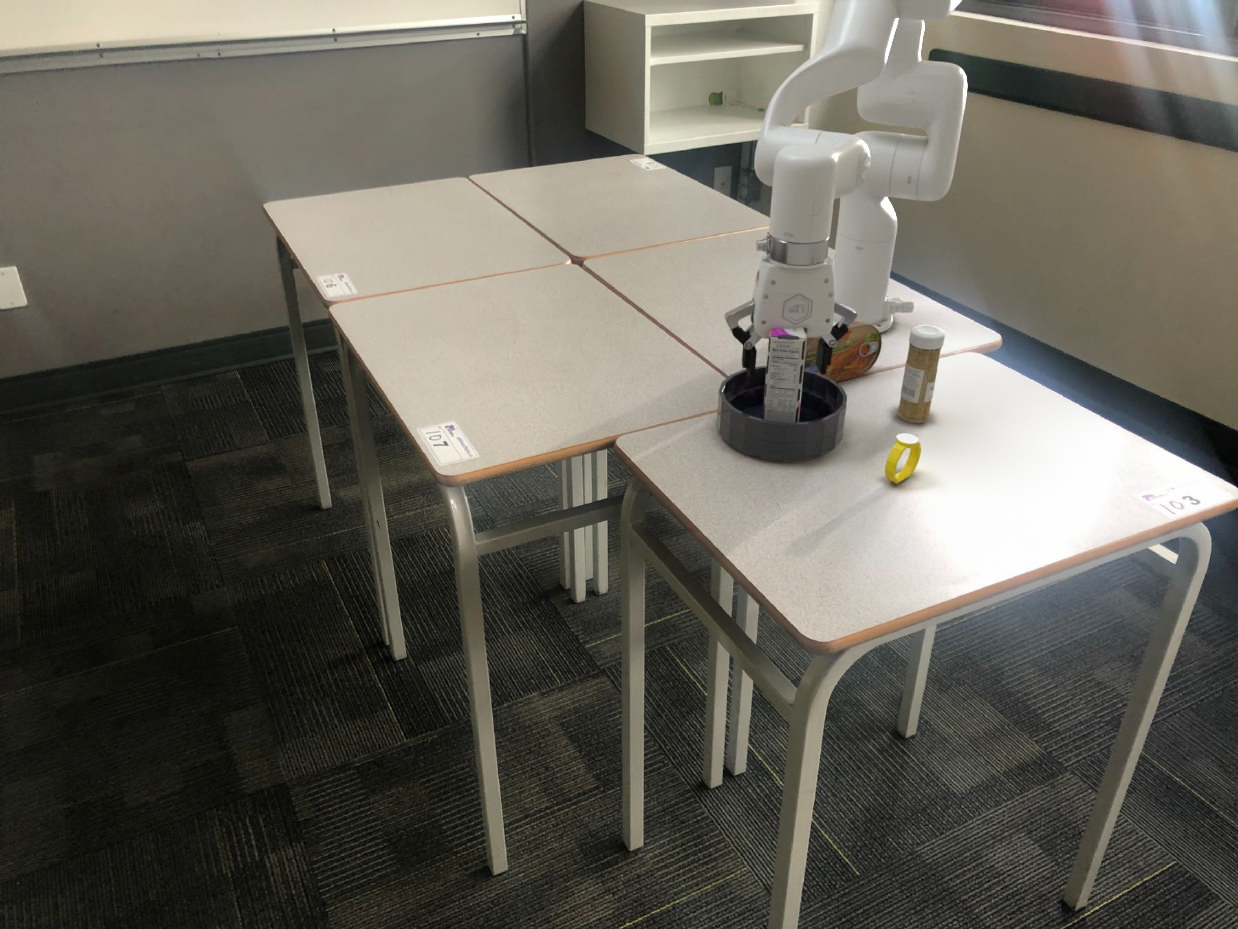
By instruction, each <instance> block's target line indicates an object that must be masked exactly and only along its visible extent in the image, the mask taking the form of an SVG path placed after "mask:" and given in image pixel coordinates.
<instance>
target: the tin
mask: <svg viewBox="0 0 1238 929" xmlns="http://www.w3.org/2000/svg"><path fill="white" fill-rule="evenodd" d="M820 338H821V337H817V338H807V343H806V353H805V363H804V369H805V370H809V371H813V372H817V373H819V374H821V373H820V372H819V370H818V368H817V367H816V355H817V346H818V340H819V339H820ZM882 344H883V341H882V335H881V333H879V331H878V329H877V328H875V327H874V326H872V325H869V324H866V323H864V322H860V321H854V322H853V324H852V325H851V327H849V330H848V332H847V333H846V334H845V335H844V336H843V337H842V338H841V339H839V340H838V341H837V344H836V345H835V346H834V347H833V350H832V358H831V364H830V365H829V366H827V371H826V374H821V375H824V376H826V377H828V378H830V379H832V380H834V381H835V382H836V383H839V382H842V381H845V380H846V381H847V380H849V379H853V378H857V377H860V376H862V375H863V376H864V374H866V373H867V372H868V371H870V370H871V369H872V368H873V367H874V365H875V364H876V363H877V361H878V359H879V357H880V354H881V350H882Z"/></svg>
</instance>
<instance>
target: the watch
mask: <svg viewBox="0 0 1238 929" xmlns="http://www.w3.org/2000/svg"><path fill="white" fill-rule="evenodd" d="M921 446H922V445H921V442H920V441H919V438H918V437H917V436H916V435H914V434H912V433H907V432H906V433H905V432H902V433H898V434H897V435H896V437H895V444H894V446H893V447H892V448H891V450H890V452H889V454H888V456H887V458H886V462H885V465H884V476H885V478H886V479H887V480H888V481H890V482H893V483H895V484H899V483H900V482H902V481H904V480H906V479H908V478H910V477H911V475H912V474H913V473H914V471H915V470H916V469H917V465H918V463H919V461H920V458H921V452H922V447H921ZM906 449H909V455H908V457H907V459H906V462H905V464H904V466H902V468H901V470H900V471H899V472H896V469H897V466H898V462H899V460H900V459H901V457H902V454H903V453H904V452H905V451H906Z"/></svg>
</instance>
